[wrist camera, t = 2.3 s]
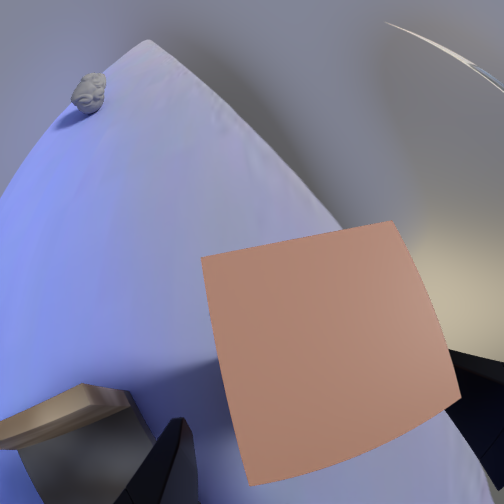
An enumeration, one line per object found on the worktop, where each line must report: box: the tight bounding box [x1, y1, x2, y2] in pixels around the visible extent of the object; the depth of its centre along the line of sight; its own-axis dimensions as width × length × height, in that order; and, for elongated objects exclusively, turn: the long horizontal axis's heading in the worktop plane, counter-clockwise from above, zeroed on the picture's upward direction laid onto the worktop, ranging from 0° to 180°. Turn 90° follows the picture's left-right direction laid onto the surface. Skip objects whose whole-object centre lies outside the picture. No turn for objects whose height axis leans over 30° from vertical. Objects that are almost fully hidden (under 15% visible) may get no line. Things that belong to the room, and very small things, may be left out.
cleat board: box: [0, 383, 201, 504], centre depth 8 cm, size 13×14×6 cm
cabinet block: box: [201, 220, 461, 486], centre depth 11 cm, size 6×5×13 cm
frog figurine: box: [71, 73, 106, 114], centre depth 32 cm, size 6×7×7 cm
